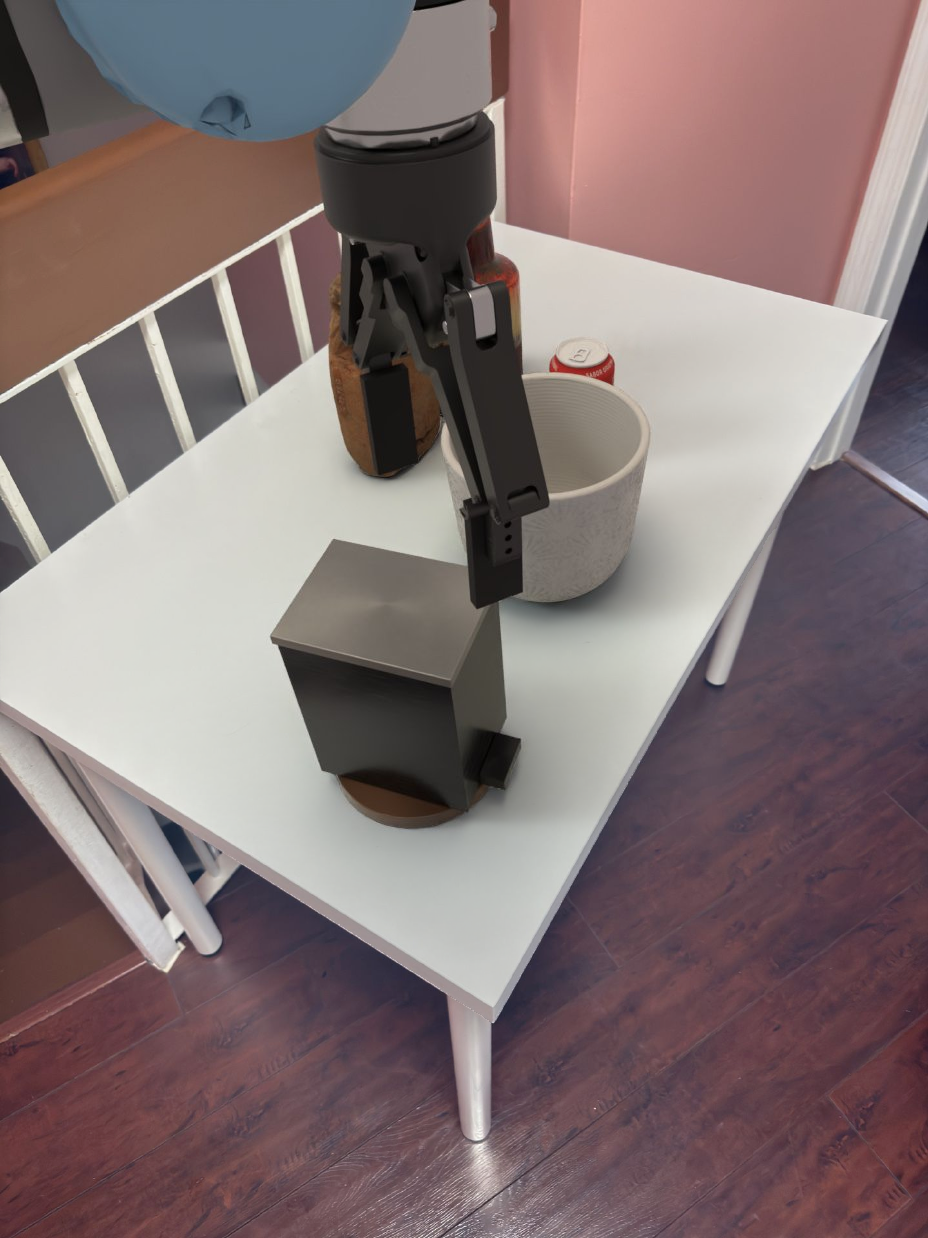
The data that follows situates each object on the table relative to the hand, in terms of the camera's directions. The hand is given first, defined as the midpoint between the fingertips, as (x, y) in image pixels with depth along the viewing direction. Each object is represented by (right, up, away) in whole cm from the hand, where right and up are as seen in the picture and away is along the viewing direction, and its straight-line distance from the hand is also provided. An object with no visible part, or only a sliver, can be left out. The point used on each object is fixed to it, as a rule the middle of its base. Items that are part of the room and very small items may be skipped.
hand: (442, 526), depth 52 cm
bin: (-2, -15, +18) cm, 24 cm away
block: (-6, +13, +46) cm, 48 cm away
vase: (+3, +20, +52) cm, 56 cm away
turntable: (-2, -16, +20) cm, 26 cm away
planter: (+9, 0, +33) cm, 34 cm away
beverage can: (+14, +12, +44) cm, 48 cm away
